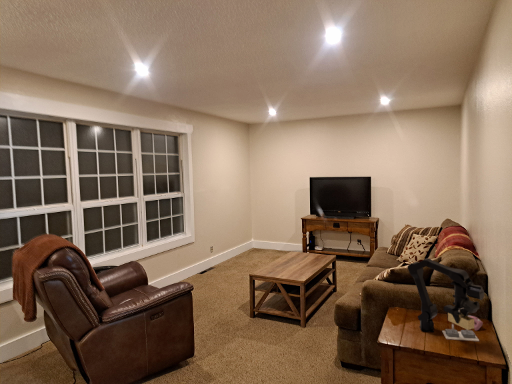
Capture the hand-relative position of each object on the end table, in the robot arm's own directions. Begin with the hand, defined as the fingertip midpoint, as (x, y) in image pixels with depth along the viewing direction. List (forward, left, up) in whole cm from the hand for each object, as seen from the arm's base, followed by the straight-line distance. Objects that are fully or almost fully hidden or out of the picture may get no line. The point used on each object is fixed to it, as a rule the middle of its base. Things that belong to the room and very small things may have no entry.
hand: (460, 322), depth 186 cm
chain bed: (+1, +6, -11) cm, 13 cm away
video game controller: (+11, +19, -11) cm, 25 cm away
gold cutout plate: (0, 0, -1) cm, 1 cm away
